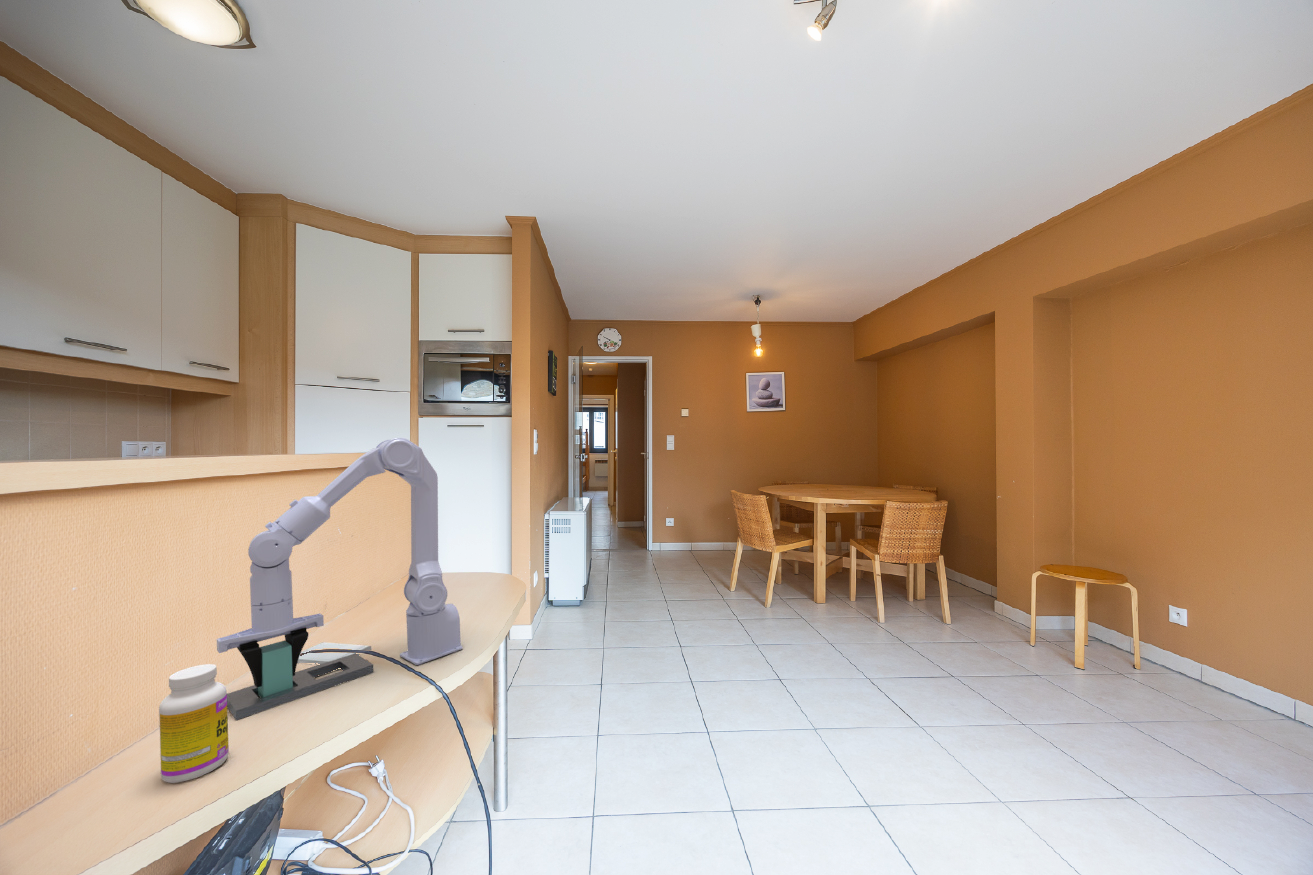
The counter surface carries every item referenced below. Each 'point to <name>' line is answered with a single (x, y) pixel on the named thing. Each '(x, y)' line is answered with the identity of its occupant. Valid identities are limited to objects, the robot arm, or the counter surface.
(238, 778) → the counter surface
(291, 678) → the teal peg
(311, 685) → the steel rail
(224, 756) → the supplement bottle
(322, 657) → the hard drive
